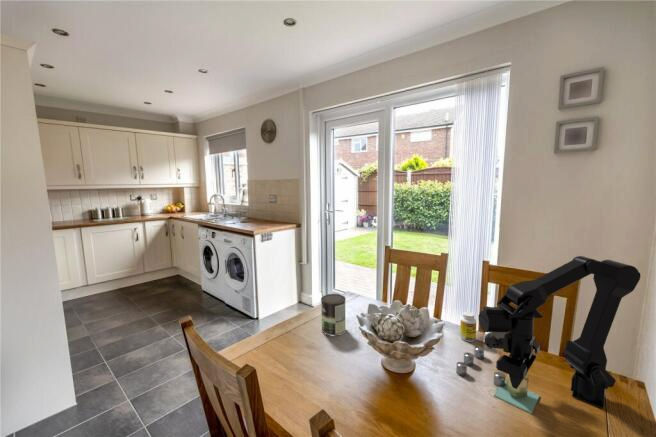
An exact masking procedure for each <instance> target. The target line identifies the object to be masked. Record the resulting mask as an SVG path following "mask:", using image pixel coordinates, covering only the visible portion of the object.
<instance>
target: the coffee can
mask: <svg viewBox="0 0 656 437" xmlns="http://www.w3.org/2000/svg"><path fill="white" fill-rule="evenodd" d="M320 302H321V332H322V331H323V332H324V333H326V334H328V335H340V334H342V335H344V334H345V333H344V332H346V331H345V329H346V297H345V296H344V295H342V294H339V293H330V294H329V293H328V294H325V295H323V296H321V298H320ZM323 332H322V333H323ZM324 333H323V334H324ZM343 333H344V334H343ZM328 335H327V336H328ZM340 336H341V335H340Z"/></svg>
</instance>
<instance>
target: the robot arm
mask: <svg viewBox="0 0 656 437" xmlns="http://www.w3.org/2000/svg"><path fill="white" fill-rule="evenodd" d="M590 275H593V278H592V279H593V281H594V286H595V288H596V291H595V295H594V297H593V300H592V302H591V305H590V308H589V311H588V313H587V317H586V319H585V322H584V324H583V327H582V331H581V334H580V336H579V337H578V338H577V339H575V340H570V339H567V341H566V344H565V345H566V346H565V348H564V349H563V351H562V353H564V355H563V356H564V359H565V361H566V362H567V363H568V365H569V368H571V369H572V370H573V371H575V372H574V373H572V376H571V385H570V391H571V392H572V393H571V397H573V398H574V399H577V400H580V401H582V402H585V403H587V404H590V405H592V406H595V407H597V408H600V409H604V408H605V404H606V403H605V402H606V390H607V389H608V388H613V387H614V385H615V384H616V378H614V376H612V374H610V373H609V371H607V370H606V368H607V363H608V358H607V355H606V351H605V344H606V341H607V339H608V335H609V333H610V331H611V328H612V326H613V322H614V320H615V317H616V315H617V313H618V310H619V306H620V304H621V301H622V299H623V298H624V297H626V296H628V295H629V294H630V293H632V292H633V291H634V290H635V289H636V287H637V285H638V284H639V283H640V282H639V281H640V280H641V272H639V270H638V268H636V267H635V266H633V265H629V264H626V263H623V262H619V261H615V260H611V259H604V260H602V261H599V260H596V259H593V258H590V257H588V256H583V255H578V256H574V257H573V258H572V260H570V261H568V262H566V263H565V264H563V265H561V266H558V267H557V268H555V269H553V270H551V271H549V272H547V273H546V274H544V275H541V276H540V277H538V278H535V279H532V280H523V281H519V282H516V283H515V284H514V283H513V284H511V285H509V287H508V288H507V289H506V292H505V293H504V295H502V297H501V298H500V299H499V300H498V301H497V303H496V305H497V306H483V307H482V310H480V312H479V314H478V315H477V316H478V323H479V326H480V329H481V330H482V332H484V333H487V334H486V335H485V336H484V342H483V343H484V345H485V346H486V348H488V350H490V349H491V350H492V349H500V350H501V349H502V351H503V352H504V353H506V354H508V353H509V355H506V354H502V355H500V356H499V357H498V359H497V360H496V364H495V368H496V370H497V371H500V372H501V373H502V372H503V374H506V375H507V374H509V377H510V381H511V384H512V387H513V388H515V389H517V388H518V386H519V385H520V383H521V382H522V380H523V379H524V377H525V376H526V375H528V373H529V370H530V368H531V367H532V365H533V364H534V362H535V361H536V359H537V355H538V354H539V353H540V349H541V348H540V347H541V345H540V343H538V341H537V340H535V334H534V324H535V322H534V321H535V320H534V319H542V318H543V317H544V316H543V314H541V313H540V312H539V310H538V309H539V308H540V307H542V306H543V305H545V303H546V301H547V300H548V298H549V297H550V296H551V295H553V294H554V293H557V292H558V291H560V290H562V289H564V288H567V287H568V286H570V285H572V284H575V283H576V282H578V281H580V280H582V279H584V278H585V277H587V276H590ZM511 304H512V305H514V306H515V307H516V308H515V307H513V306H512V305H511Z"/></svg>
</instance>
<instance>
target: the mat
mask: <svg viewBox="0 0 656 437" xmlns="http://www.w3.org/2000/svg"><path fill="white" fill-rule="evenodd" d="M506 388H507V380H505V386H503V387H502V386H499V387H497V390H496V391H495V392H494V394H493V397H494V398H496V399H497V398H498V399H499V400H501V401H503V402H505V403H508V404H510V405H512V406H514V407H516V408H519V409H521V410H523V411H524V412H526V413H529V414H531V415H532V414H533V411H534V409H535V407H536V405H537V403H538V401H539V399H540V397H541V396H540V394H537V393H536V392H532V391H531V390H528V395H527V397H526V398H518V397H515V396H513V395H511V394H510V393H509V392H508V391H507V389H506Z"/></svg>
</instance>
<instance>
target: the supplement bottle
mask: <svg viewBox="0 0 656 437" xmlns="http://www.w3.org/2000/svg"><path fill="white" fill-rule="evenodd" d="M459 327H460V329H459V330H460V332H459V336H460V338H461V340H463V341H464V342H469V343H470V342H471V343H472V342H476V339H477V336H476V335H477V319H476V318H475V314H474V313H473V312H471V311H463V314H462V316H461V317H460V326H459Z"/></svg>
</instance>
